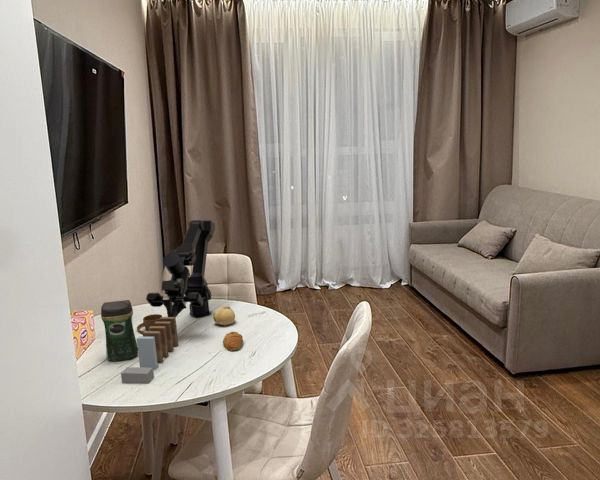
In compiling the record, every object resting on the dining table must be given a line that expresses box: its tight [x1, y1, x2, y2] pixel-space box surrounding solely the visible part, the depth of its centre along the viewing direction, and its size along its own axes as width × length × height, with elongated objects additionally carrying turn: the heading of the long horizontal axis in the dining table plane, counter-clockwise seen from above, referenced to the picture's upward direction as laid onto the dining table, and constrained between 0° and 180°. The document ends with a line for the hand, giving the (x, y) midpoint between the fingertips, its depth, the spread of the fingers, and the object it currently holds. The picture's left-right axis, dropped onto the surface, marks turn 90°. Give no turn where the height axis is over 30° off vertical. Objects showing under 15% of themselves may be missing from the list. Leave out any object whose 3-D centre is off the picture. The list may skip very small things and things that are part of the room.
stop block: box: [120, 366, 155, 384], centre depth 155 cm, size 4×8×3 cm, turn 82°
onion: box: [212, 304, 236, 327], centre depth 197 cm, size 8×8×7 cm
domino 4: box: [159, 316, 179, 348], centre depth 178 cm, size 2×5×10 cm, turn 82°
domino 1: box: [136, 336, 159, 371], centre depth 162 cm, size 2×5×10 cm, turn 82°
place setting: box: [136, 313, 163, 335], centre depth 199 cm, size 18×20×6 cm
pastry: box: [222, 331, 244, 352], centre depth 176 cm, size 9×7×4 cm
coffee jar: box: [100, 299, 138, 362], centre depth 171 cm, size 10×8×19 cm
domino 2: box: [142, 330, 164, 364], centre depth 166 cm, size 2×5×10 cm, turn 81°
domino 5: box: [154, 322, 174, 353], centre depth 174 cm, size 2×5×10 cm, turn 82°
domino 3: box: [148, 326, 169, 359], centre depth 170 cm, size 2×5×10 cm, turn 82°
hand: (169, 322), depth 179 cm, fingers closed
